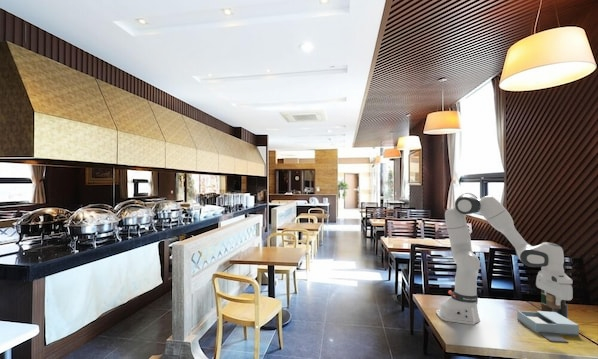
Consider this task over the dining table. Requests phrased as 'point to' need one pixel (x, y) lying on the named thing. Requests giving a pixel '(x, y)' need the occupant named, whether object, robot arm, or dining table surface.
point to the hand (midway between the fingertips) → (553, 302)
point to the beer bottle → (544, 302)
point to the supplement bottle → (562, 309)
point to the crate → (548, 322)
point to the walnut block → (552, 301)
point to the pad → (553, 337)
